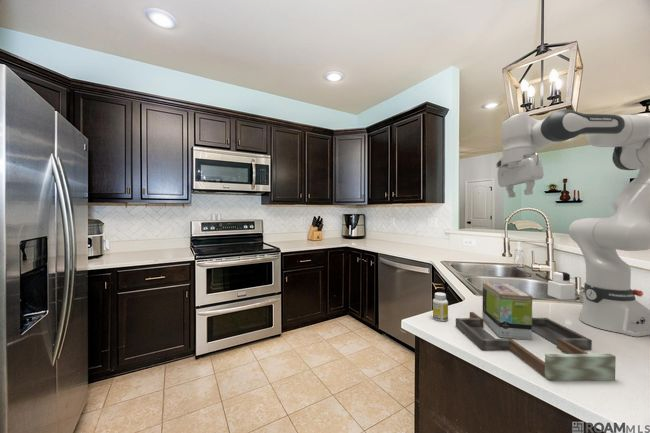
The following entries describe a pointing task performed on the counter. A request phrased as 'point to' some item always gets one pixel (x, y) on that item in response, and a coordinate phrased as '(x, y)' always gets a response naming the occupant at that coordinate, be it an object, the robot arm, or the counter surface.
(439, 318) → the supplement bottle
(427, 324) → the counter surface
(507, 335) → the tea box
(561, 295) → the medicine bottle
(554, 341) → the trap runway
